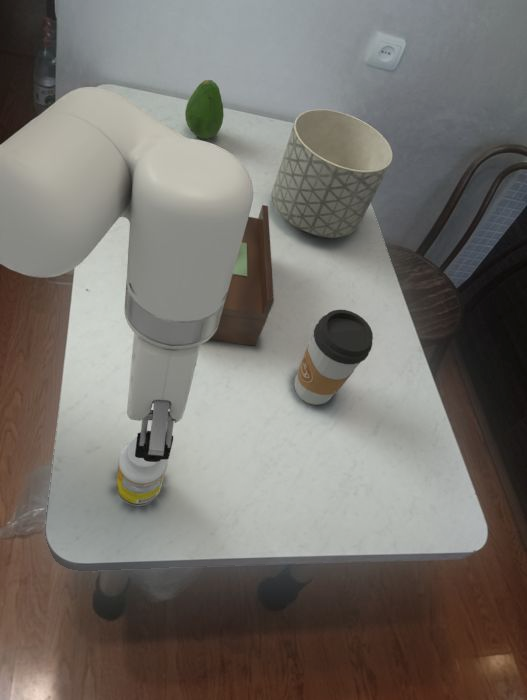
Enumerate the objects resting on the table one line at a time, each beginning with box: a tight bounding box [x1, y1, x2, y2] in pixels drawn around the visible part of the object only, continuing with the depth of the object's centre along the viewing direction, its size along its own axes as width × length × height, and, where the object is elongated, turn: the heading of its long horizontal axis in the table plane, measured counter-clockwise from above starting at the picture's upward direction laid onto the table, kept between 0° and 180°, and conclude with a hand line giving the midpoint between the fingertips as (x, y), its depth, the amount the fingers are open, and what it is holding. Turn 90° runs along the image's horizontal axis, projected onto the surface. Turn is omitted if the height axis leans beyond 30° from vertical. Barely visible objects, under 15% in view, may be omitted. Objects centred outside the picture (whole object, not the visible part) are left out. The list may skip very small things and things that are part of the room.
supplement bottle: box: [116, 436, 169, 507], centre depth 64 cm, size 6×6×10 cm
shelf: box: [208, 204, 275, 347], centre depth 88 cm, size 14×22×11 cm, turn 2°
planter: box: [271, 108, 394, 239], centre depth 105 cm, size 19×19×18 cm
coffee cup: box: [293, 309, 374, 406], centre depth 79 cm, size 8×8×15 cm
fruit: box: [184, 79, 225, 140], centre depth 114 cm, size 8×8×12 cm
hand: (155, 412), depth 55 cm, fingers open, 9 cm apart
